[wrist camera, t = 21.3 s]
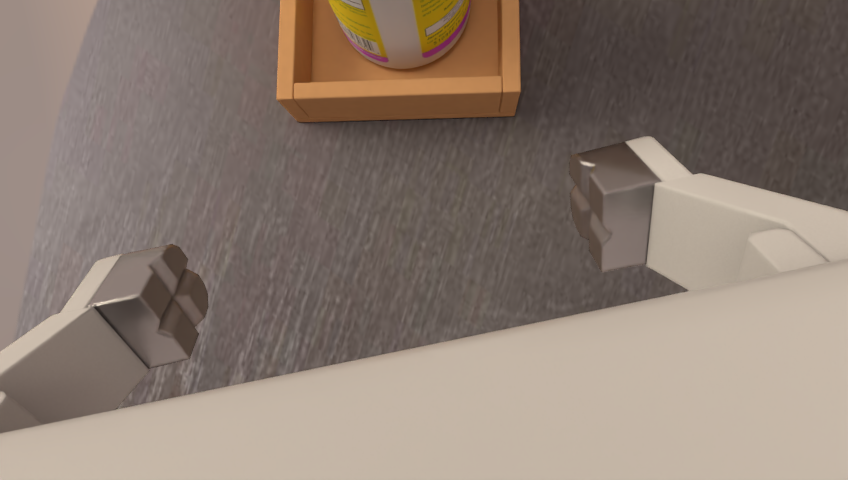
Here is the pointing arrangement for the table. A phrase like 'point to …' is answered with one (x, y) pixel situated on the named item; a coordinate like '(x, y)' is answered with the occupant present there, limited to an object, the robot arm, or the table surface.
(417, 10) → the supplement bottle
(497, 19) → the open wooden box
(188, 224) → the table surface
